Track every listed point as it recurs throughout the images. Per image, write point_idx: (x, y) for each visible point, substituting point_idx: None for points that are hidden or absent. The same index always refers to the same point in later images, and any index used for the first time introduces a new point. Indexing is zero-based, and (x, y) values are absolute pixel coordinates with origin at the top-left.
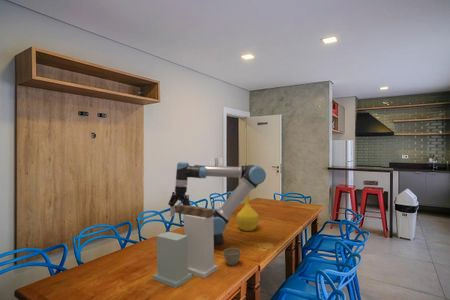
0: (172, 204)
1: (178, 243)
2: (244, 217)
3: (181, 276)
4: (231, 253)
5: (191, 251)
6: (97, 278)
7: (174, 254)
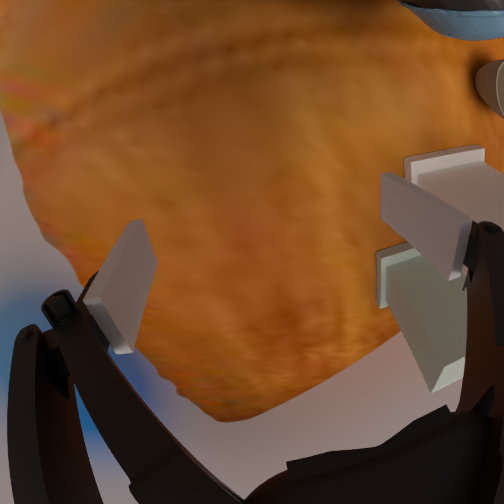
0: (123, 375)
1: None
2: None
3: None
4: (489, 66)
5: None
6: (265, 373)
7: None
